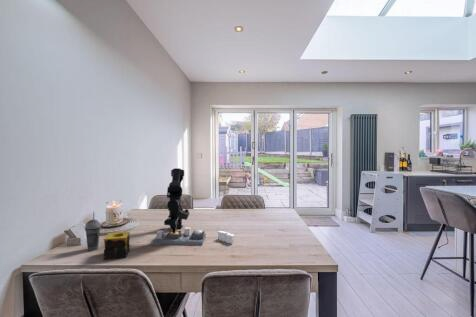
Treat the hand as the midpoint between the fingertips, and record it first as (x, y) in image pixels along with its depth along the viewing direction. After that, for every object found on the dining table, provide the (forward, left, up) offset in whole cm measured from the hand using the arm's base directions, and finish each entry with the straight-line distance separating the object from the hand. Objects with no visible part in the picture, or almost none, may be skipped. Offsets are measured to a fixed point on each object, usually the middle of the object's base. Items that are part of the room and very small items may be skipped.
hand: (174, 232), depth 143 cm
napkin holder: (+1, +31, -5) cm, 31 cm away
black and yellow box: (+22, -22, -5) cm, 32 cm away
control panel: (0, +4, -4) cm, 6 cm away
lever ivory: (-3, +7, -2) cm, 8 cm away
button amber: (0, 0, -2) cm, 2 cm away
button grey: (0, +14, -1) cm, 14 cm away
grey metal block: (+4, -7, -2) cm, 8 cm away
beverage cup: (+16, -38, -5) cm, 42 cm away
